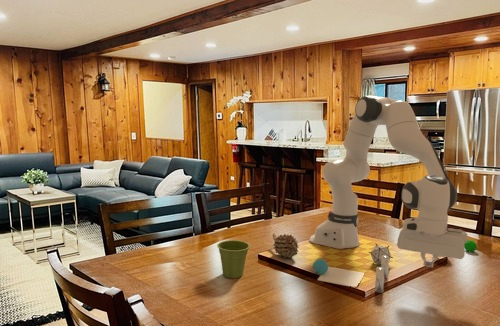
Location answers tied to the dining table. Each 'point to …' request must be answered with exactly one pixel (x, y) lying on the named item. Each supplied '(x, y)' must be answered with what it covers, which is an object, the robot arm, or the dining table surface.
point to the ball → (320, 266)
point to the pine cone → (285, 245)
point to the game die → (379, 253)
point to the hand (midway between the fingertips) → (428, 266)
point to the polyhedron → (470, 246)
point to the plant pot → (233, 257)
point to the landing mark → (341, 277)
